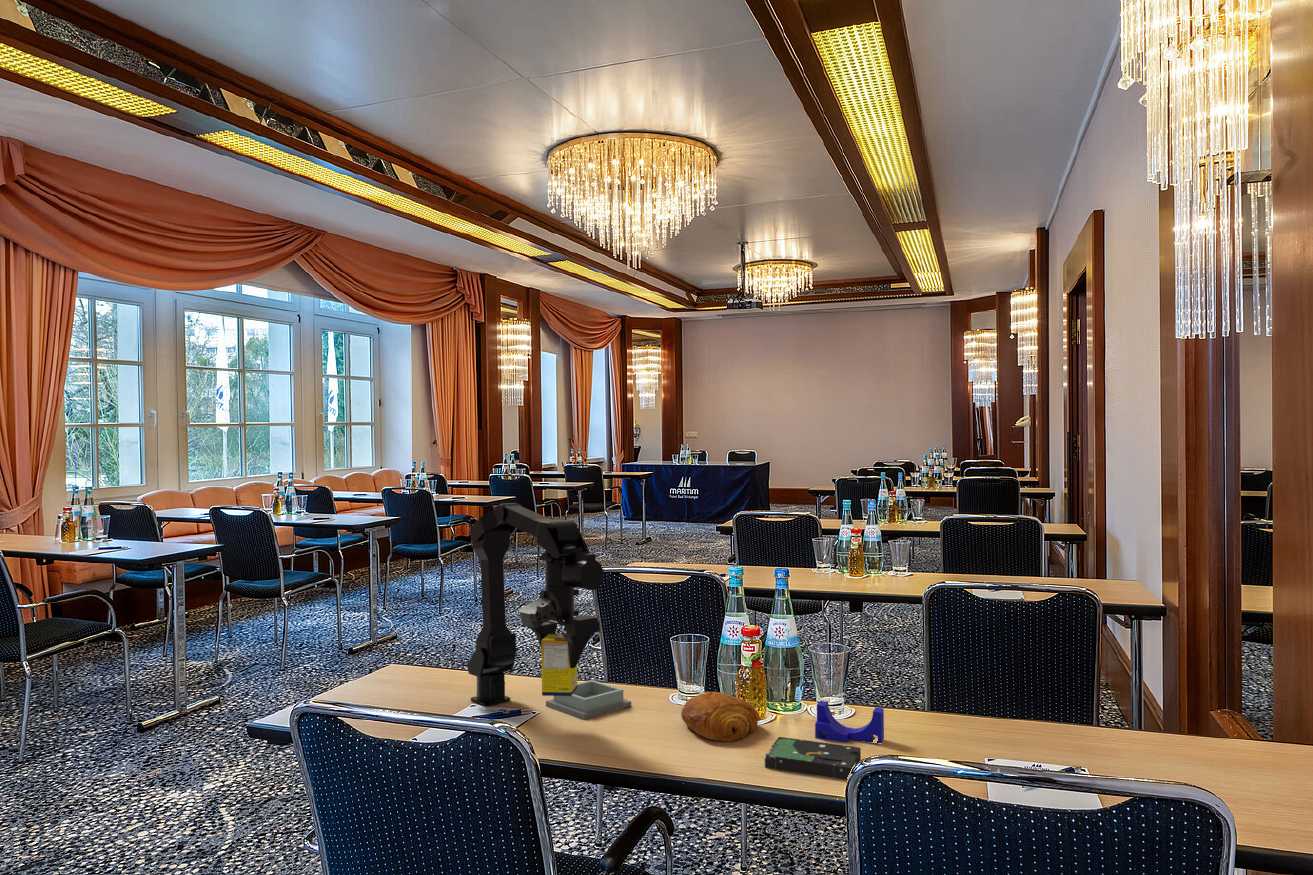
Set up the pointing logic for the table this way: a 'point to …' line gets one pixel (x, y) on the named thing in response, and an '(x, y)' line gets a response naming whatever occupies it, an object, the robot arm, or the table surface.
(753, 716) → the croissant
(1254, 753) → the table surface
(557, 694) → the supplement box
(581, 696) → the socket holder
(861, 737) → the blue u-shaped cradle
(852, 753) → the disk drive
